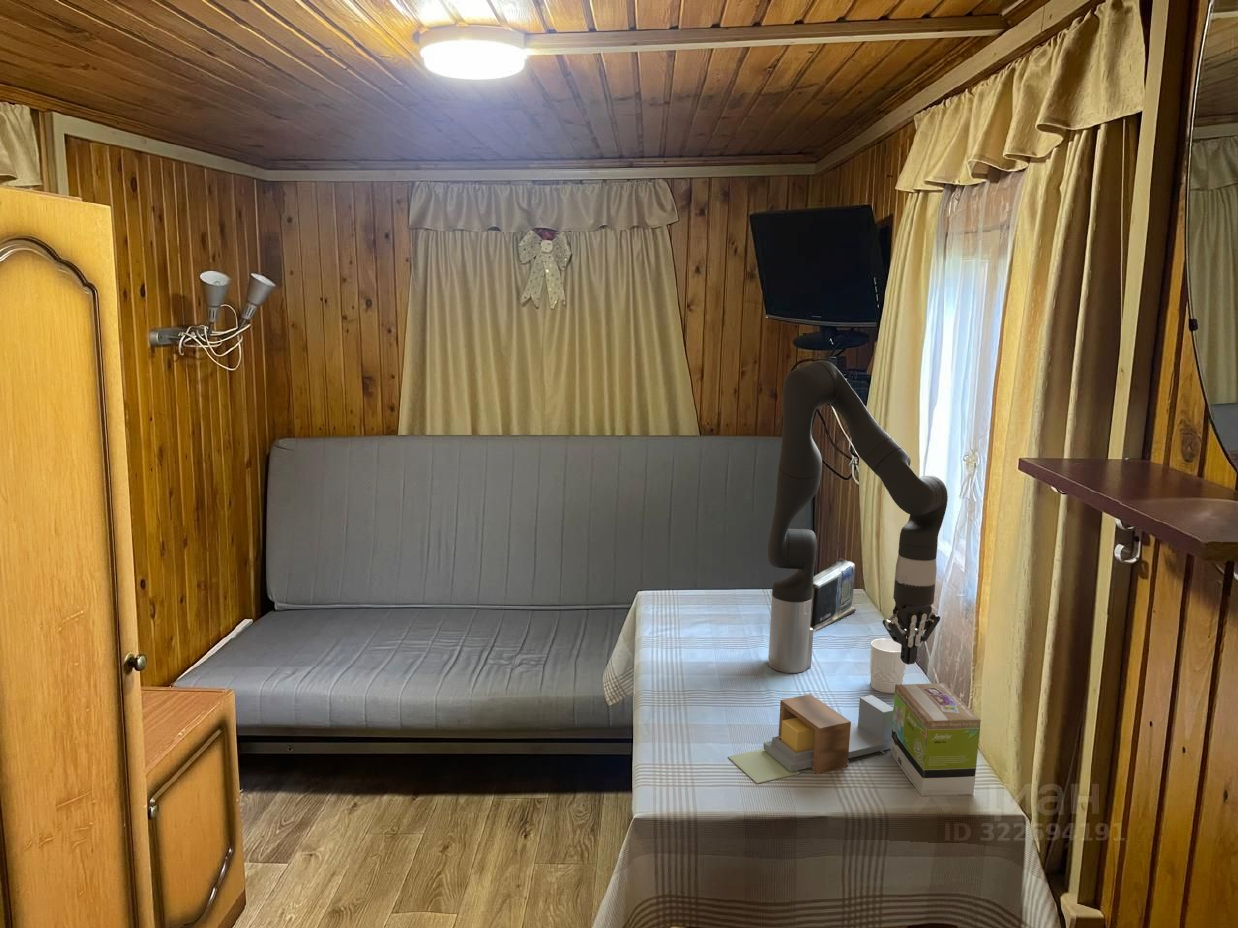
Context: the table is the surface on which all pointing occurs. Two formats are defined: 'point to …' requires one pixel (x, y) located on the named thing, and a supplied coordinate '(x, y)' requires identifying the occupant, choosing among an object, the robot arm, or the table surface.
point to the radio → (832, 594)
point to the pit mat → (865, 756)
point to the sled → (864, 736)
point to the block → (797, 735)
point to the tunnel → (820, 730)
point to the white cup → (886, 665)
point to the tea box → (935, 739)
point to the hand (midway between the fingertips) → (907, 662)
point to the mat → (761, 766)
